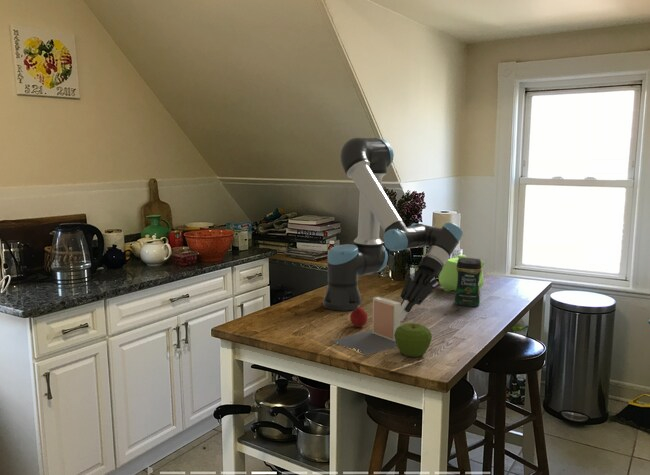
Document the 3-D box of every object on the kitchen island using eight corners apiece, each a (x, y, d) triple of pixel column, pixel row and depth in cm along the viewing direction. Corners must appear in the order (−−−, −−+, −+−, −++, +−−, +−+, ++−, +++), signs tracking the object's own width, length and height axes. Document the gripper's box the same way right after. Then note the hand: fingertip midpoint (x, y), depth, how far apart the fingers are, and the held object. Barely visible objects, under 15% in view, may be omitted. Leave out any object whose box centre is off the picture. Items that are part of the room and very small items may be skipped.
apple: (393, 361, 156) (393, 328, 154) (394, 348, 166) (395, 317, 164) (431, 364, 154) (432, 330, 152) (430, 350, 164) (431, 319, 163)
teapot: (501, 292, 233) (503, 255, 230) (467, 299, 221) (469, 261, 218) (457, 280, 253) (458, 247, 251) (423, 287, 241) (424, 252, 239)
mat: (384, 327, 186) (384, 326, 186) (419, 340, 173) (419, 338, 173) (330, 342, 171) (330, 341, 171) (364, 357, 158) (364, 355, 158)
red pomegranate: (362, 332, 181) (362, 309, 180) (347, 329, 184) (347, 306, 183) (370, 327, 186) (370, 304, 185) (355, 324, 189) (355, 302, 188)
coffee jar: (453, 305, 212) (455, 259, 209) (455, 300, 220) (457, 255, 217) (479, 308, 209) (481, 260, 206) (480, 302, 216) (482, 257, 214)
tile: (377, 331, 180) (378, 296, 178) (399, 339, 172) (400, 303, 170) (371, 333, 178) (372, 297, 176) (393, 341, 170) (394, 304, 169)
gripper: (453, 271, 182) (418, 329, 175) (423, 265, 192) (389, 320, 185) (443, 258, 178) (407, 317, 171) (414, 252, 188) (378, 307, 181)
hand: (398, 318), depth 178 cm, fingers closed
